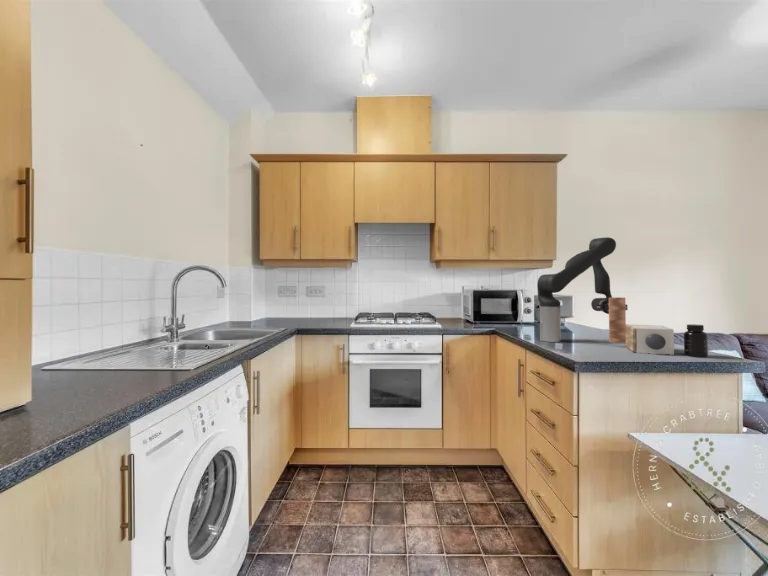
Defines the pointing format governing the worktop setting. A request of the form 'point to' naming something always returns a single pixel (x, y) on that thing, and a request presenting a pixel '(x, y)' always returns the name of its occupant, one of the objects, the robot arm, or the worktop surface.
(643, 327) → the housing
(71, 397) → the worktop surface
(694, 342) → the supplement bottle
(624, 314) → the wooden block
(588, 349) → the worktop surface
